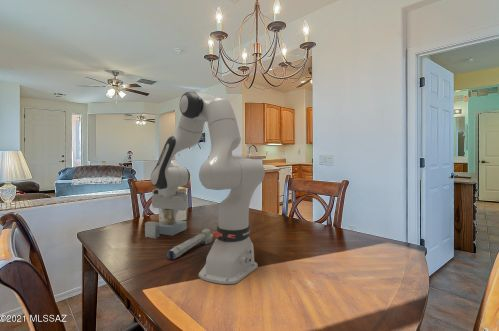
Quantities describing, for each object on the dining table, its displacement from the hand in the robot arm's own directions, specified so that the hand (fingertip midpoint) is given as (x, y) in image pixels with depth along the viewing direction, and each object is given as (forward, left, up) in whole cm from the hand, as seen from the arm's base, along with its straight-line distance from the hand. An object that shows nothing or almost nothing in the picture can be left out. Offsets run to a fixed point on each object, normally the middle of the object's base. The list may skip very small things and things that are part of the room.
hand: (169, 217), depth 139 cm
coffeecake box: (+16, +10, -7) cm, 20 cm away
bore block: (0, 0, -7) cm, 7 cm away
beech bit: (0, 0, -4) cm, 4 cm away
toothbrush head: (-18, -25, -8) cm, 32 cm away
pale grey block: (-11, +2, -7) cm, 13 cm away
